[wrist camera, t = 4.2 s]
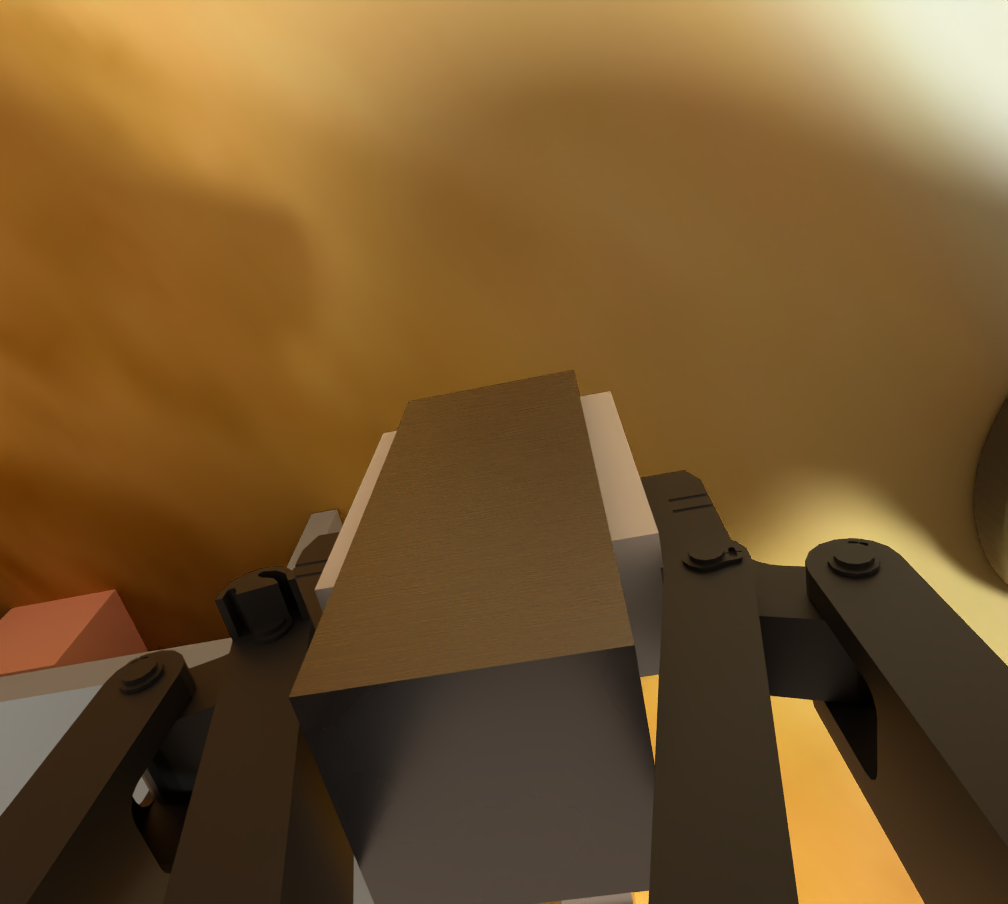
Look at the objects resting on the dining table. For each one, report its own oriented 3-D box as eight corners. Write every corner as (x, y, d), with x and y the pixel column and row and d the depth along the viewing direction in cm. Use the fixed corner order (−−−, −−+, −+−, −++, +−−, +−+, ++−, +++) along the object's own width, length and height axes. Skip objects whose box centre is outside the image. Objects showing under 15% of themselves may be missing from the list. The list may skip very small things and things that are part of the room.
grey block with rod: (574, 369, 17) (634, 645, 8) (660, 862, 24) (747, 1317, 15) (270, 428, 18) (11, 739, 9) (436, 889, 25) (387, 1338, 15)
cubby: (336, 509, 28) (276, 655, 20) (411, 722, 32) (383, 906, 25) (-74, 584, 29) (-271, 747, 22) (52, 779, 34) (-75, 968, 26)
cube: (116, 588, 29) (54, 664, 25) (161, 673, 31) (109, 758, 27) (13, 606, 30) (-65, 685, 26) (63, 690, 32) (-2, 776, 28)
